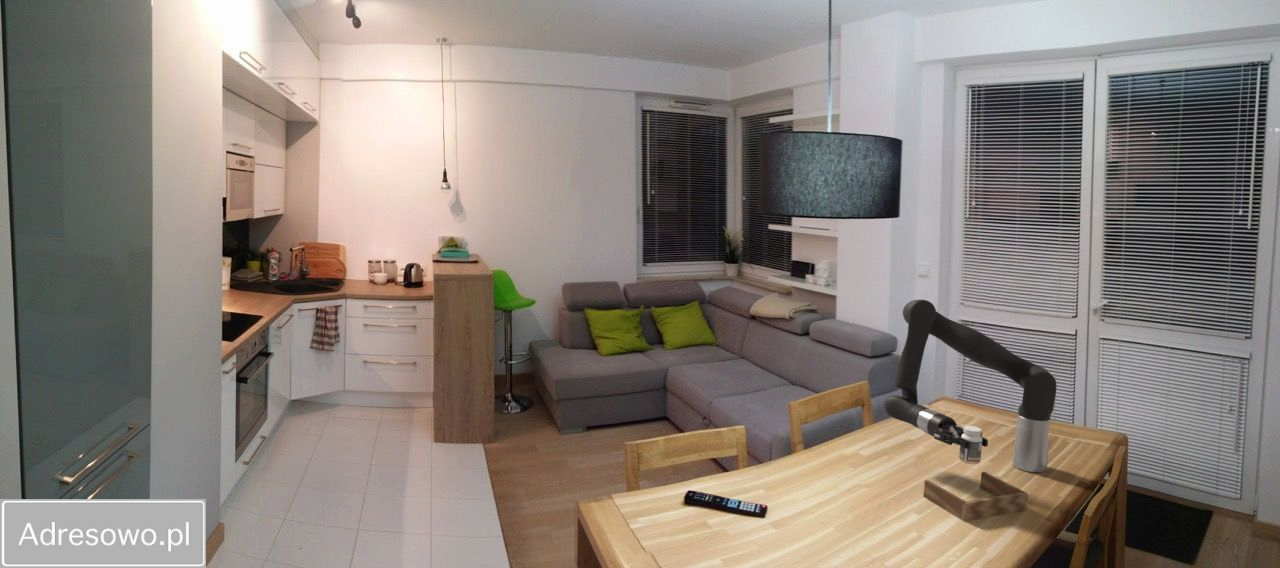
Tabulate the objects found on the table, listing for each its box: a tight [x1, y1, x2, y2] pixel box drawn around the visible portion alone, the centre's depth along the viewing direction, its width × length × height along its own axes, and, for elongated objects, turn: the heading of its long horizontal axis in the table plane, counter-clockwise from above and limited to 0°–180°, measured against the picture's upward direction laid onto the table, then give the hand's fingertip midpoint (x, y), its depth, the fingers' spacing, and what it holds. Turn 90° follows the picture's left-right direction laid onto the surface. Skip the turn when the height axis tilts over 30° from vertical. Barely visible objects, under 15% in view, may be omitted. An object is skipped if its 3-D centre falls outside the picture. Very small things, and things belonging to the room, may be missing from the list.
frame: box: [923, 471, 1029, 522], centre depth 209 cm, size 22×16×5 cm
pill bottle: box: [958, 425, 983, 465], centre depth 210 cm, size 6×6×10 cm
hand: (978, 444), depth 208 cm, fingers closed on pill bottle, 5 cm apart
